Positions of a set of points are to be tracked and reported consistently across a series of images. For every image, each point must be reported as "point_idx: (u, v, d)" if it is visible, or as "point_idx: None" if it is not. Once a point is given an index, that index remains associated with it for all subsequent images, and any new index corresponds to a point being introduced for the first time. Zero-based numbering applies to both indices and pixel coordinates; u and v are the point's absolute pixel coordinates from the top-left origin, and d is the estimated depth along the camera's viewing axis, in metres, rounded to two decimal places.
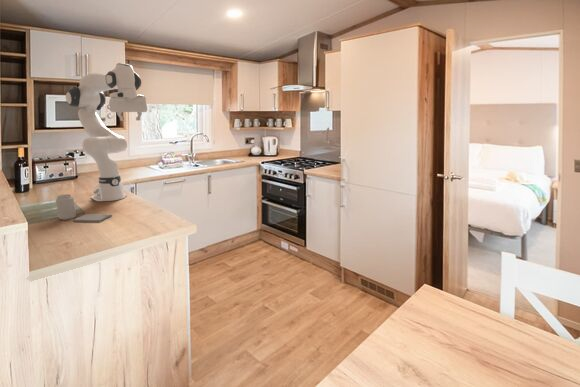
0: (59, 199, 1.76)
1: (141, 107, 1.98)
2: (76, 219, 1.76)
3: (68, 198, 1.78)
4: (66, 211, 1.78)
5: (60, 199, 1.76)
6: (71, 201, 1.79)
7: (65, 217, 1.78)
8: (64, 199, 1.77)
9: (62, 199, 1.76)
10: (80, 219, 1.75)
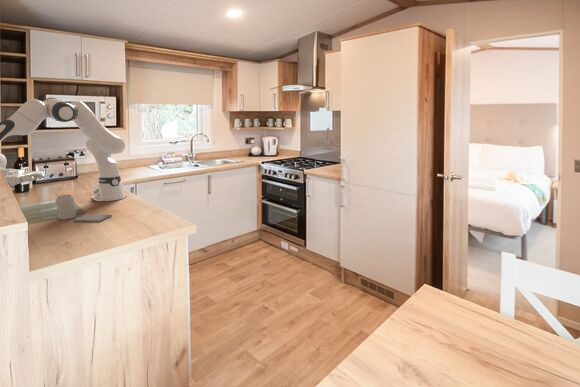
0: (59, 199, 1.76)
1: None
2: (76, 219, 1.76)
3: (68, 198, 1.78)
4: (66, 211, 1.78)
5: (60, 199, 1.76)
6: (71, 201, 1.79)
7: (65, 217, 1.78)
8: (64, 199, 1.77)
9: (62, 199, 1.76)
10: (80, 219, 1.75)
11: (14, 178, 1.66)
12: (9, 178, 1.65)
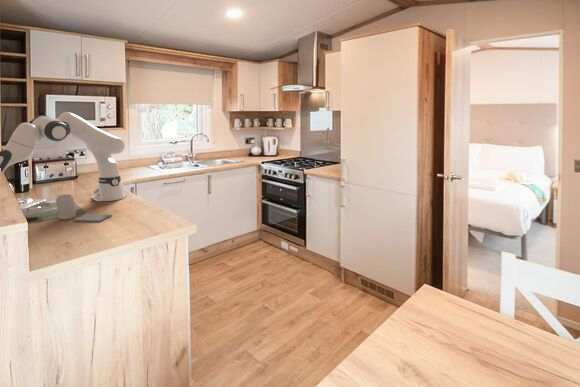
0: (59, 199, 1.76)
1: None
2: (76, 219, 1.76)
3: (68, 198, 1.78)
4: (66, 211, 1.78)
5: (60, 199, 1.76)
6: (71, 201, 1.79)
7: (65, 217, 1.78)
8: (64, 199, 1.77)
9: (62, 199, 1.76)
10: (80, 219, 1.75)
11: None
12: None
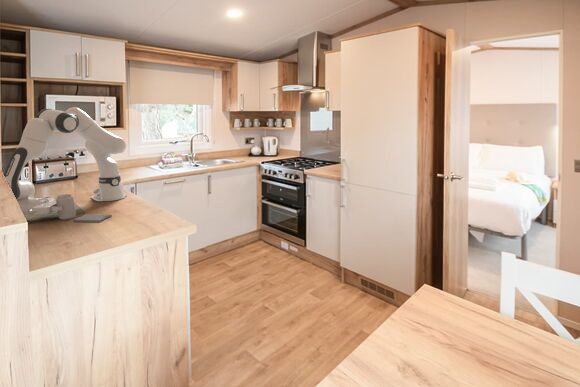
0: (59, 199, 1.76)
1: None
2: (76, 219, 1.76)
3: (68, 198, 1.78)
4: (66, 211, 1.78)
5: (60, 199, 1.76)
6: (71, 201, 1.79)
7: (65, 217, 1.78)
8: (64, 199, 1.77)
9: (62, 199, 1.76)
10: (80, 219, 1.75)
11: (44, 209, 1.70)
12: (40, 209, 1.70)
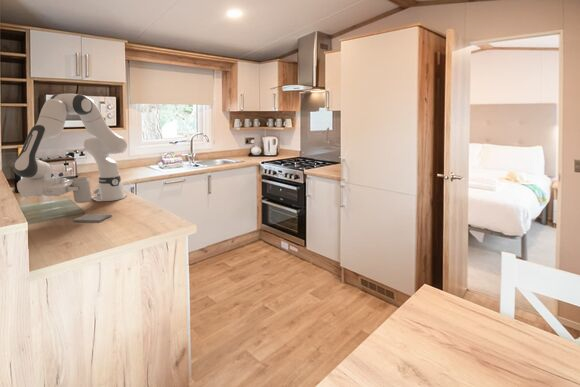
0: (75, 181, 1.73)
1: None
2: (76, 219, 1.76)
3: (84, 181, 1.74)
4: (81, 194, 1.74)
5: (76, 181, 1.72)
6: (87, 184, 1.75)
7: (81, 200, 1.74)
8: (80, 182, 1.73)
9: (78, 181, 1.73)
10: (80, 219, 1.75)
11: (60, 189, 1.66)
12: (55, 189, 1.66)
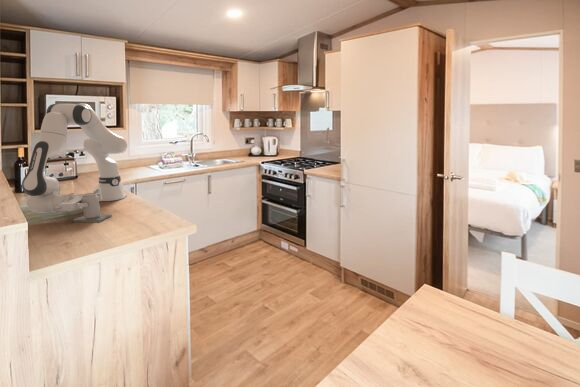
0: (84, 198, 1.74)
1: None
2: (76, 219, 1.76)
3: (93, 197, 1.75)
4: (91, 210, 1.75)
5: (85, 198, 1.74)
6: (96, 200, 1.76)
7: (90, 216, 1.75)
8: (89, 198, 1.74)
9: (87, 198, 1.74)
10: (80, 219, 1.75)
11: (70, 205, 1.68)
12: (66, 205, 1.67)
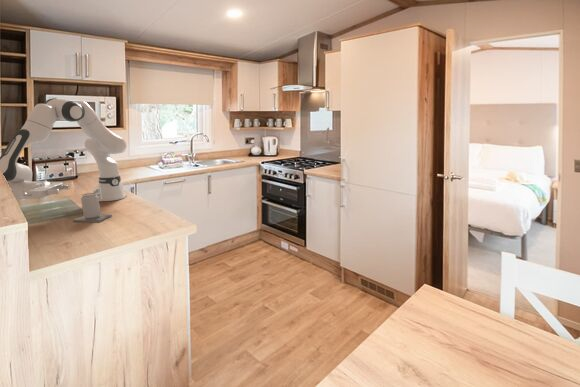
0: (84, 198, 1.74)
1: None
2: (76, 219, 1.76)
3: (93, 197, 1.75)
4: (91, 210, 1.75)
5: (85, 198, 1.74)
6: (96, 200, 1.76)
7: (90, 216, 1.75)
8: (89, 198, 1.74)
9: (87, 198, 1.74)
10: (80, 219, 1.75)
11: (40, 192, 1.66)
12: (35, 192, 1.65)
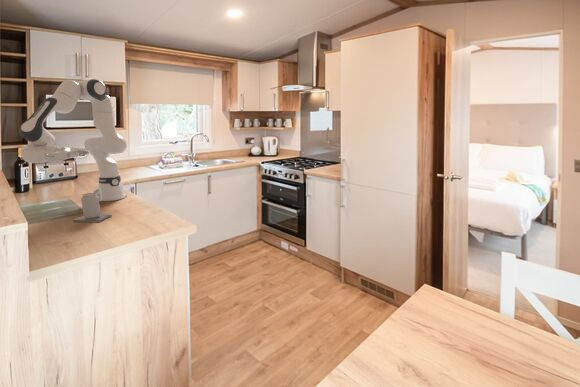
0: (84, 198, 1.74)
1: None
2: (76, 219, 1.76)
3: (93, 197, 1.75)
4: (91, 210, 1.75)
5: (85, 198, 1.74)
6: (96, 200, 1.76)
7: (90, 216, 1.75)
8: (89, 198, 1.74)
9: (87, 198, 1.74)
10: (80, 219, 1.75)
11: (62, 153, 1.73)
12: (57, 153, 1.73)
